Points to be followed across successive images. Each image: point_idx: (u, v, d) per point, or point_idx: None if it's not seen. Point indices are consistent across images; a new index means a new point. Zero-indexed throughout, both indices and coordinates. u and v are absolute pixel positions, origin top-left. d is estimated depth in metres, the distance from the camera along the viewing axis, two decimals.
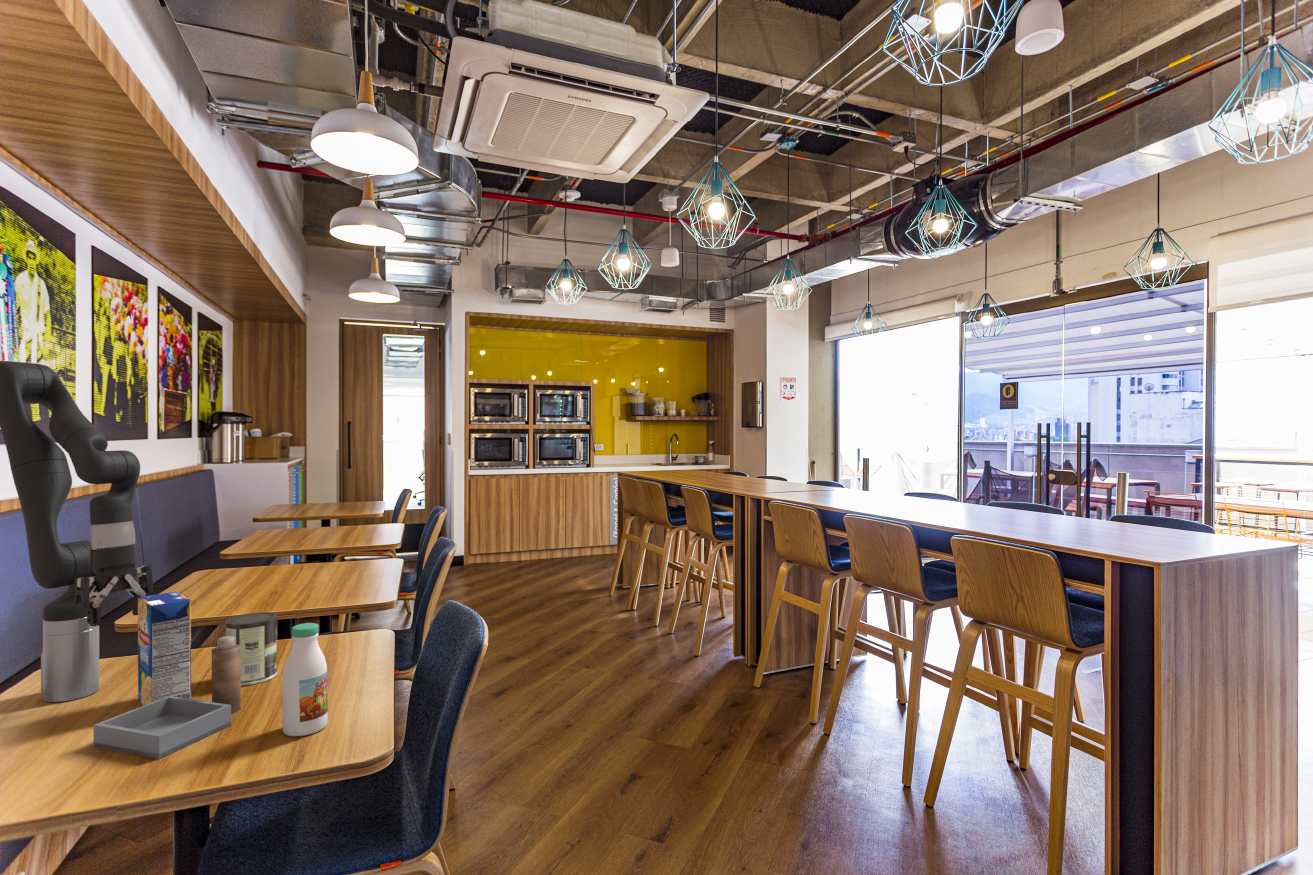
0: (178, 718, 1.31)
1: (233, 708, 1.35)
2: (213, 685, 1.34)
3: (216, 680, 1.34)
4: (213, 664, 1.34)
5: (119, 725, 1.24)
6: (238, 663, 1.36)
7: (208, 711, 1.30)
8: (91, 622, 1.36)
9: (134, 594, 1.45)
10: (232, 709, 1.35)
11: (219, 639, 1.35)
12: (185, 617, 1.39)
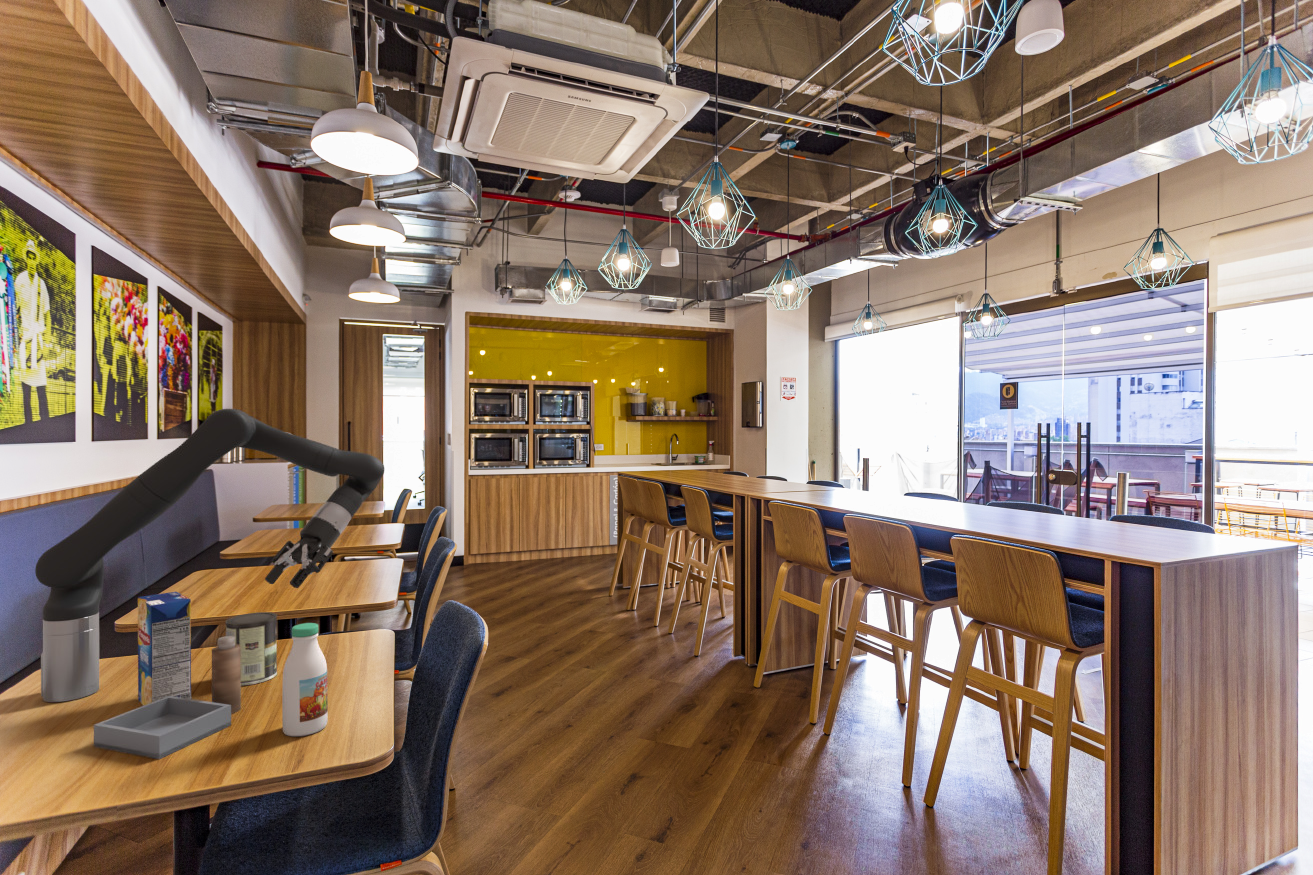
0: (178, 718, 1.31)
1: (233, 708, 1.35)
2: (213, 685, 1.34)
3: (216, 680, 1.34)
4: (213, 664, 1.34)
5: (119, 725, 1.24)
6: (238, 663, 1.36)
7: (208, 711, 1.30)
8: (300, 583, 1.45)
9: (280, 564, 1.51)
10: (232, 709, 1.35)
11: (219, 639, 1.35)
12: (185, 617, 1.39)
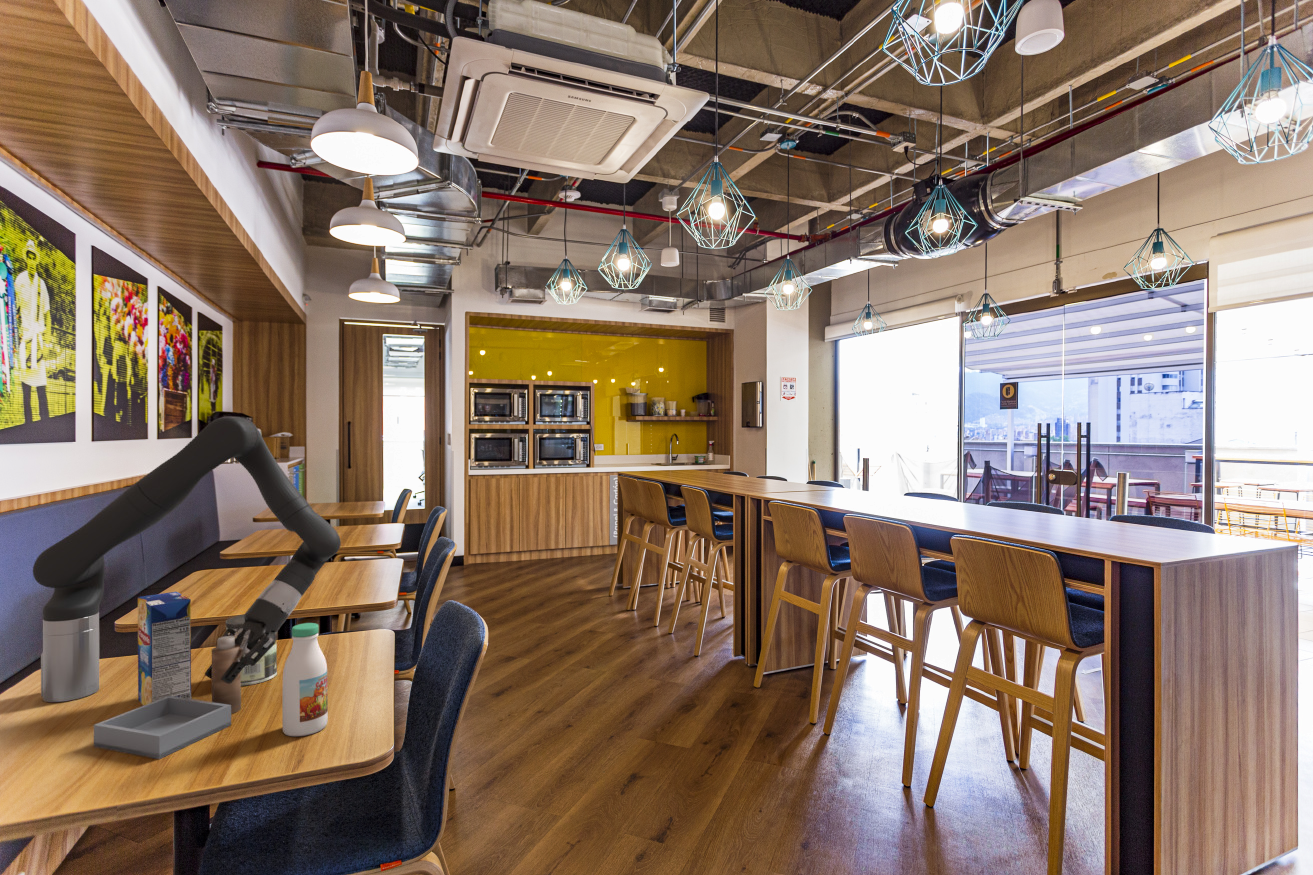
0: (178, 718, 1.31)
1: (234, 708, 1.35)
2: (213, 685, 1.34)
3: (216, 680, 1.34)
4: (213, 664, 1.34)
5: (119, 725, 1.24)
6: None
7: (208, 711, 1.30)
8: (232, 679, 1.34)
9: None
10: (232, 709, 1.35)
11: (219, 639, 1.35)
12: (185, 617, 1.39)
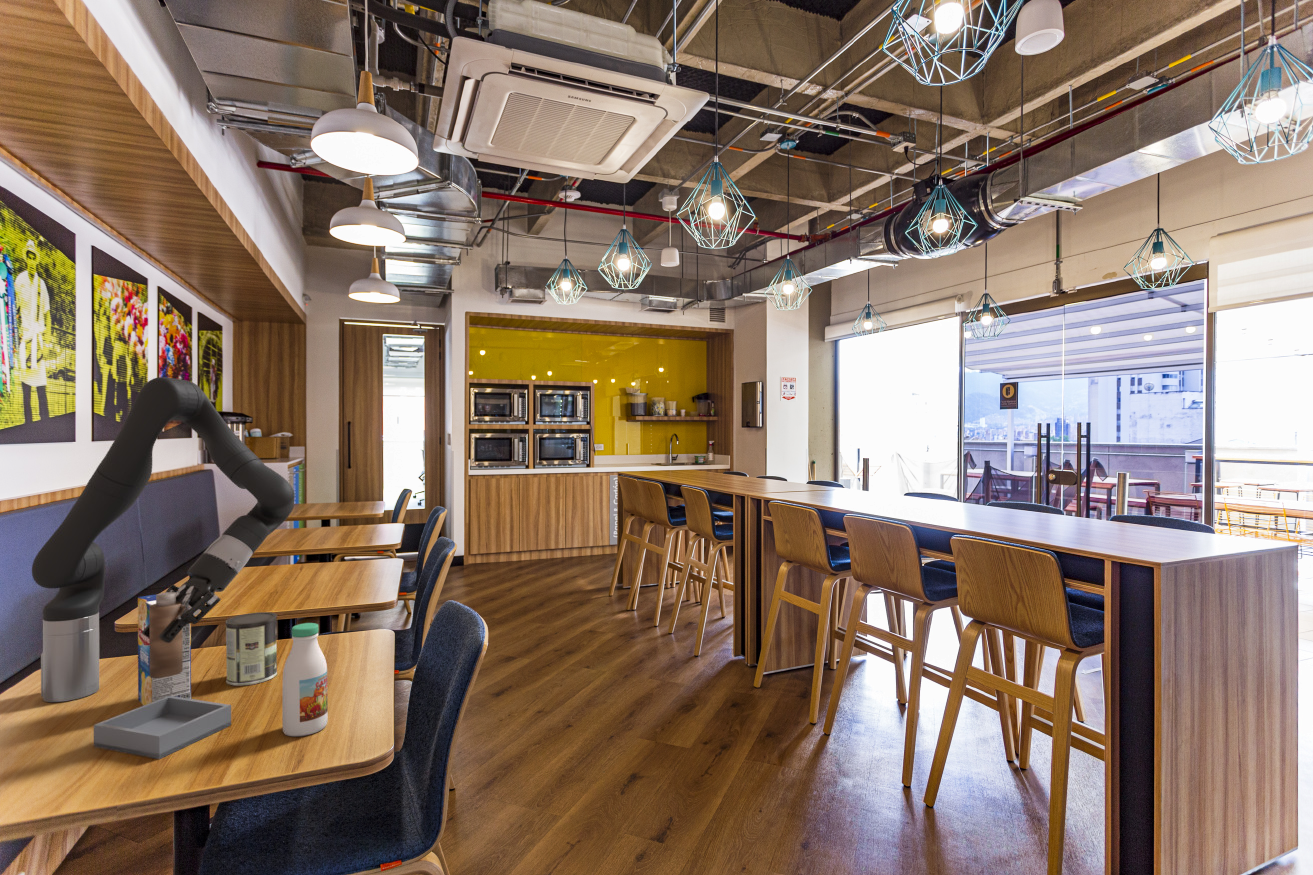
0: (178, 718, 1.31)
1: (173, 670, 1.24)
2: (151, 644, 1.23)
3: (154, 639, 1.23)
4: (150, 621, 1.23)
5: (119, 725, 1.24)
6: None
7: (208, 711, 1.30)
8: (172, 637, 1.23)
9: None
10: (172, 671, 1.24)
11: (158, 595, 1.24)
12: None
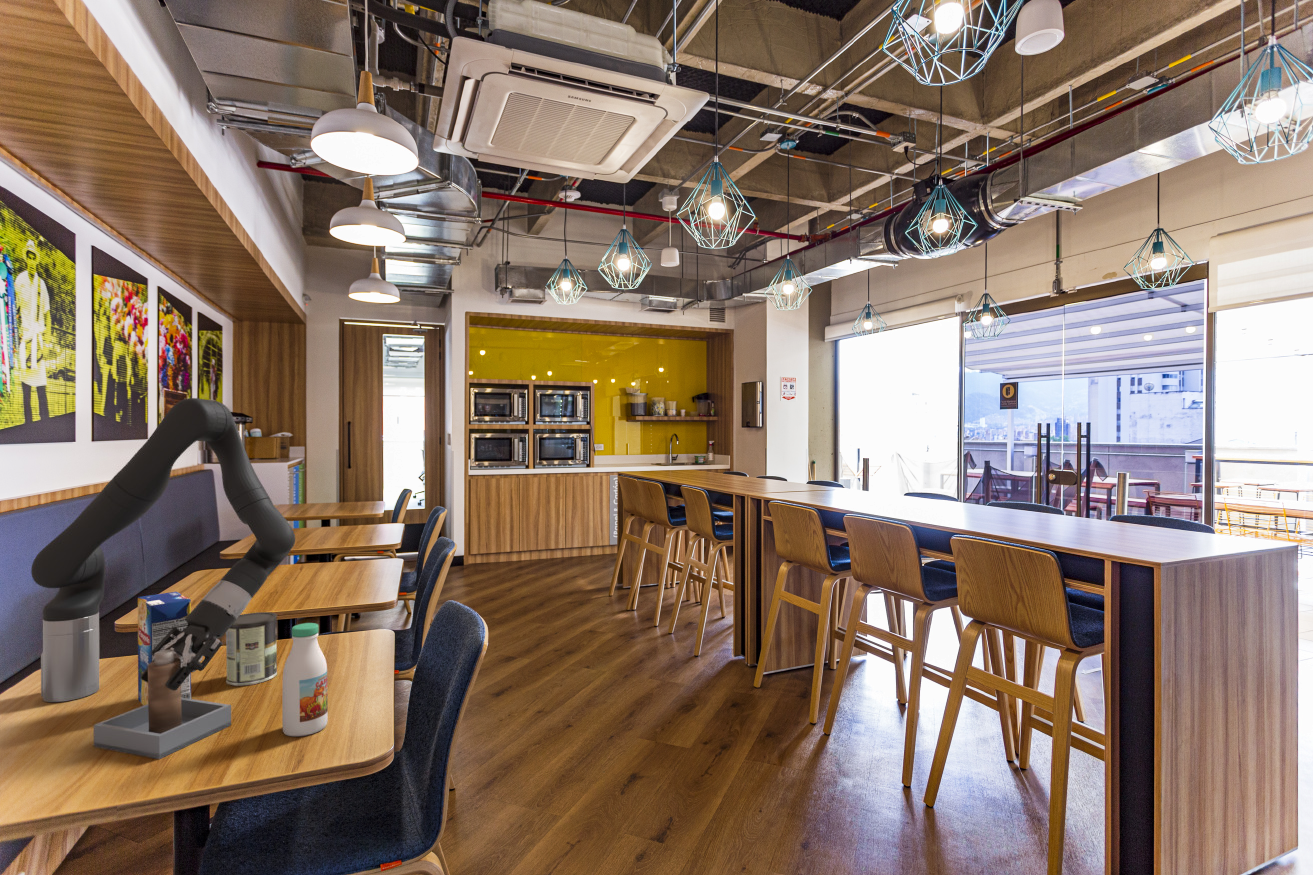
0: None
1: (172, 728, 1.24)
2: (149, 704, 1.23)
3: (153, 699, 1.23)
4: (149, 681, 1.23)
5: (119, 725, 1.24)
6: None
7: (208, 711, 1.30)
8: (178, 685, 1.22)
9: None
10: None
11: (156, 653, 1.24)
12: (185, 617, 1.39)
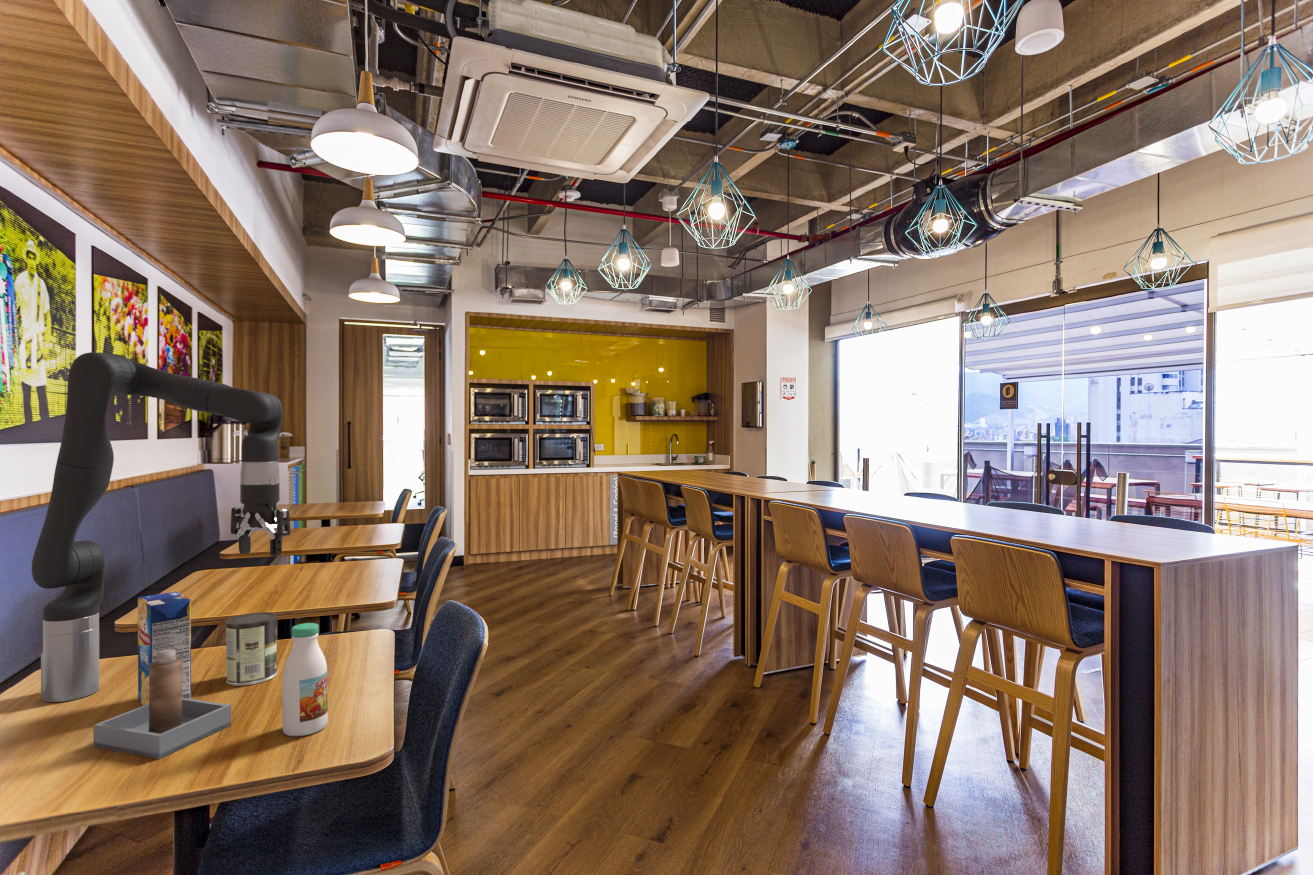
0: None
1: None
2: (150, 703, 1.23)
3: (153, 698, 1.23)
4: (150, 680, 1.23)
5: (119, 725, 1.24)
6: (179, 679, 1.25)
7: (208, 711, 1.30)
8: (280, 551, 1.46)
9: (243, 533, 1.48)
10: None
11: (158, 653, 1.24)
12: (185, 617, 1.39)
